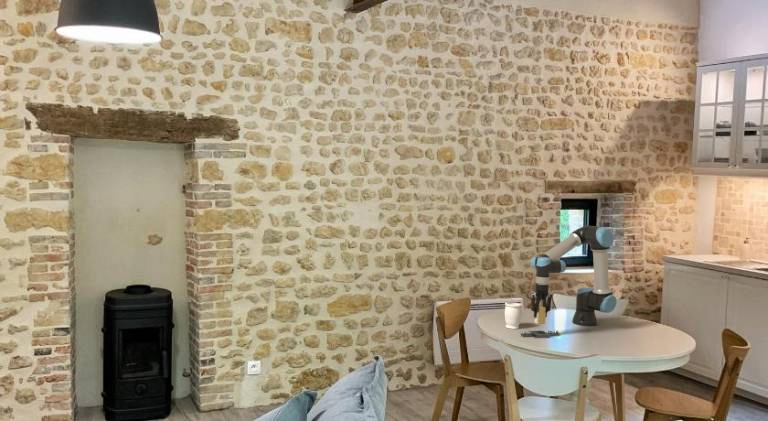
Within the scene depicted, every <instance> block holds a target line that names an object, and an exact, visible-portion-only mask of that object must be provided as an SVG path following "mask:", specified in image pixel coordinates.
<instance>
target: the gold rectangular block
mask: <svg viewBox="0 0 768 421" xmlns="http://www.w3.org/2000/svg"><path fill="white" fill-rule="evenodd" d="M545 308H546V307H544V306H543V305H539V308H538V313H539V314H538V324H537V325H545V324H546V317H545Z"/></svg>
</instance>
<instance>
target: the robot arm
mask: <svg viewBox="0 0 768 421" xmlns="http://www.w3.org/2000/svg"><path fill="white" fill-rule="evenodd" d="M613 242H614V234H613V232H612V230H610V229H609V228H608V227H607V228H606V227H603V226H595V225H593V226H592V225H585V226H580V227H579V228H577V229H575V230H573V231H572V232H571V233H569V235H568V236H567V237H566V238H565V239H563V240H562V241H561V242H559V243H558V244H556V245H555V246H553V247H552V248H551V249H549V250H547V251H546V252H545V253H543V254H541V255H540V256H533V257H532V258H531V260H530V265H531V267H532V268H533V269H535V270H536V275H535V277H536V278H535V287H534V288H535V291H534V293H533V294H532V293H531V294H530V300H531V301H530V311H531V312H533V318H534V323H535V324H537V325H539V324H538V314H539V313H538V308H539V306H540V303H541V301H542V306H544V307H546V308H545V318H547V317H548V313H549V312H550V311H551V308H552V307H551V306H552V298H553V294H551V293H549V289H550V286H549V283H550V274H562V273H564V272H565V271H566V269H567V264H566V263H565V261H564V260H562V259H560V258H562V257H563V256H564V255H566V254H568V253H569V252H570V251H572V250H573V249H574V248H576V247H580V246H582V245H589V248H590V250H591V251H592V257H593V258H592V259H593V276H594V277H593V278H594V287H580V288H578V289H577V291H576V299H575V300H576V303H575V305H576V306H575V312H574V315H573V317H572V323H573V324H576V325H578V326H586V327H594V326H597V324H598V320H597V316H596V313H595V311H597V312H601V313H604V314H605V313H606V314H610V313H611V312H613V311H614V310H615V308H616V306H617V297H616V296H615V295H613V290H612V288H610V279H609V278H610V276H609V275H610V274H609V258H608V257H609V255H608V251H609V250H610V249H611V248H610V247H611V246H612V245H613ZM559 259H560V260H559Z"/></svg>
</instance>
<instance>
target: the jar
mask: <svg viewBox="0 0 768 421" xmlns="http://www.w3.org/2000/svg"><path fill="white" fill-rule="evenodd" d="M504 305H505V307H504V320H505V328H507V329H511V330H517V329H520V323H521V320H522V314H523V313H522V307H523V304H522V303H521V302H515V301H507V302H505V303H504Z"/></svg>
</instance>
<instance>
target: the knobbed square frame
mask: <svg viewBox="0 0 768 421" xmlns="http://www.w3.org/2000/svg"><path fill="white" fill-rule="evenodd" d="M520 335H521V336H520V337H522V336H523V337H522V338H535V339H549V338H551V337H560V332H559V331H558V330H548V331H547V332H546V331H545V330H528V331H521V333H520Z"/></svg>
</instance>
